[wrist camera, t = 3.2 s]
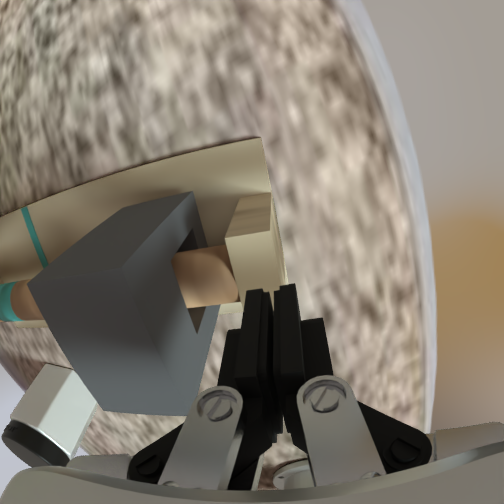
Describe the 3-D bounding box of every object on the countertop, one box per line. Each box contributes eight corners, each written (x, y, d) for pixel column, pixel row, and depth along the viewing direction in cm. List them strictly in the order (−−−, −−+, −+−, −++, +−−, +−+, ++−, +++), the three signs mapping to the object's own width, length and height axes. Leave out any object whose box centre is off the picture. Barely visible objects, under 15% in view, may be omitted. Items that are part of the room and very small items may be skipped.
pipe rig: (291, 299, 24) (295, 370, 17) (20, 324, 28) (-15, 364, 21) (260, 137, 19) (253, 149, 12) (-23, 227, 23) (-71, 258, 16)
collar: (222, 297, 22) (192, 416, 13) (157, 305, 22) (103, 410, 13) (192, 190, 19) (120, 267, 9) (122, 207, 19) (26, 284, 10)
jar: (45, 351, 29) (-6, 423, 18) (103, 386, 30) (62, 469, 20) (45, 387, 33) (6, 451, 22) (95, 417, 34) (63, 487, 23)
